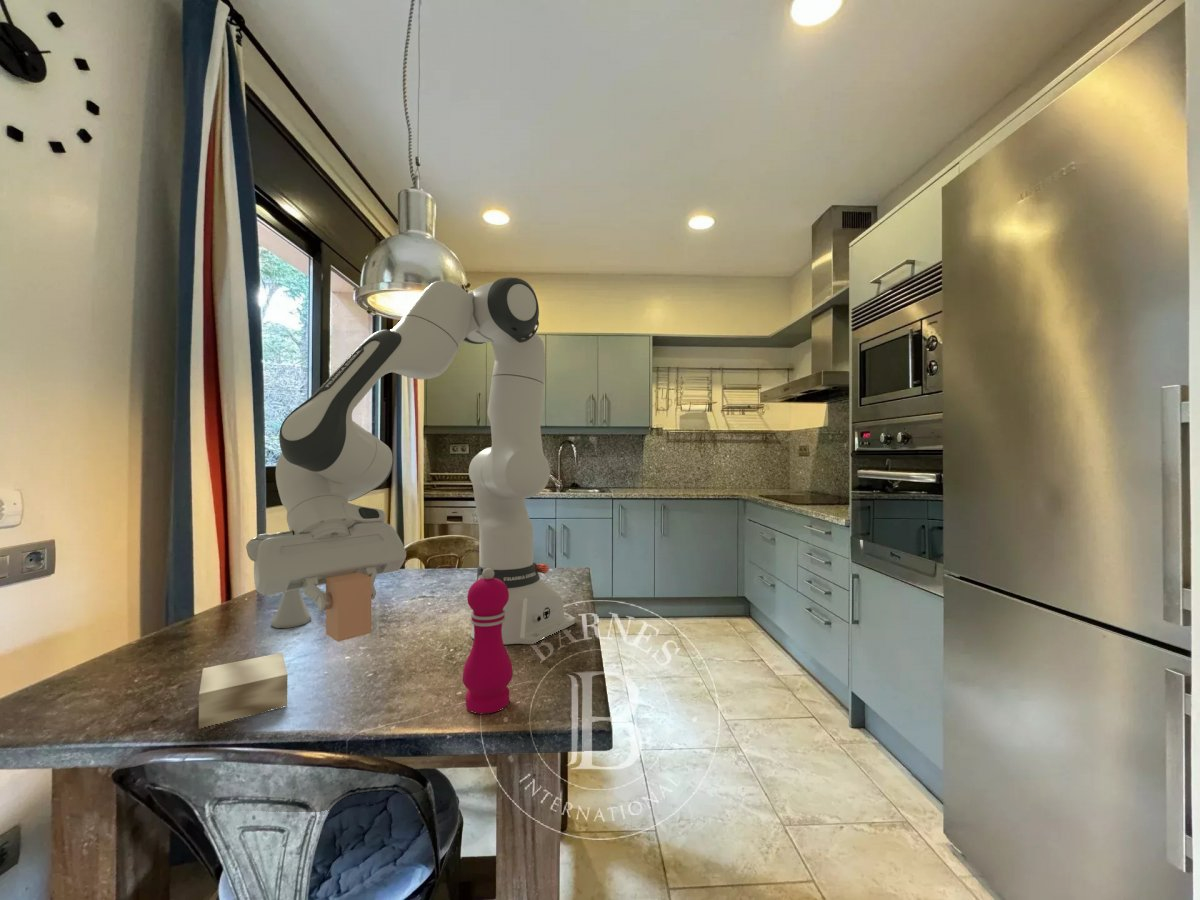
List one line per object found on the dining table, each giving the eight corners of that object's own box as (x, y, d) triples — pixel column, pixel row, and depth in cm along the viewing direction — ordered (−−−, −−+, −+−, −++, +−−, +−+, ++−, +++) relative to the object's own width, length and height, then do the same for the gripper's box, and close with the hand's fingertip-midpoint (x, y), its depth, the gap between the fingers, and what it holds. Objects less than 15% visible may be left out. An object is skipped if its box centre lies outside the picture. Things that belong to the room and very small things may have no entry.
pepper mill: (467, 693, 75) (468, 563, 76) (515, 691, 76) (515, 562, 76) (457, 717, 68) (458, 573, 69) (509, 715, 69) (510, 573, 69)
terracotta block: (358, 625, 73) (358, 572, 73) (371, 632, 70) (371, 576, 70) (326, 634, 70) (325, 578, 70) (338, 641, 67) (337, 583, 67)
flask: (292, 630, 103) (292, 582, 104) (263, 628, 105) (264, 581, 105) (318, 619, 110) (318, 575, 111) (291, 617, 112) (291, 573, 112)
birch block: (281, 683, 79) (282, 652, 79) (287, 708, 71) (287, 674, 71) (202, 701, 73) (203, 668, 73) (198, 731, 65) (199, 693, 65)
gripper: (247, 522, 67) (268, 607, 61) (393, 509, 83) (422, 576, 76) (239, 550, 70) (258, 635, 64) (381, 533, 86) (409, 599, 79)
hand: (349, 602), depth 70 cm, fingers closed on terracotta block, 4 cm apart
